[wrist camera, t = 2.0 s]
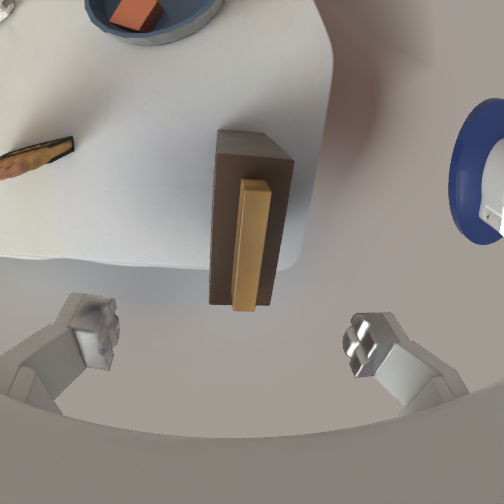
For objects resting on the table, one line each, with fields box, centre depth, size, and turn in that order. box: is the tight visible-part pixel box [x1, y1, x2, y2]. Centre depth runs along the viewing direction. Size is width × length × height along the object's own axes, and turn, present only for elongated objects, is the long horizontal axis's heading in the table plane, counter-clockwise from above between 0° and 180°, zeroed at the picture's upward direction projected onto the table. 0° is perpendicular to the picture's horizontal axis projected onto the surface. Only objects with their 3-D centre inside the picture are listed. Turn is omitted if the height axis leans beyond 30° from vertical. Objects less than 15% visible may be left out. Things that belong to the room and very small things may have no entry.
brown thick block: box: [209, 130, 294, 306], centre depth 26 cm, size 5×12×13 cm, turn 174°
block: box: [109, 0, 164, 33], centre depth 19 cm, size 4×4×4 cm
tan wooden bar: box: [231, 179, 272, 311], centre depth 20 cm, size 2×9×2 cm, turn 174°
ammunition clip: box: [0, 136, 74, 181], centre depth 21 cm, size 11×2×12 cm, turn 89°
